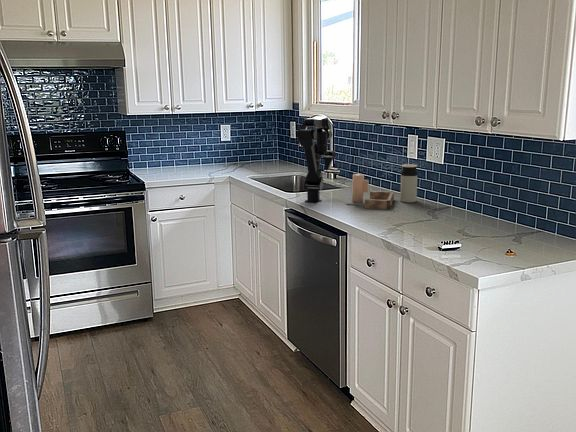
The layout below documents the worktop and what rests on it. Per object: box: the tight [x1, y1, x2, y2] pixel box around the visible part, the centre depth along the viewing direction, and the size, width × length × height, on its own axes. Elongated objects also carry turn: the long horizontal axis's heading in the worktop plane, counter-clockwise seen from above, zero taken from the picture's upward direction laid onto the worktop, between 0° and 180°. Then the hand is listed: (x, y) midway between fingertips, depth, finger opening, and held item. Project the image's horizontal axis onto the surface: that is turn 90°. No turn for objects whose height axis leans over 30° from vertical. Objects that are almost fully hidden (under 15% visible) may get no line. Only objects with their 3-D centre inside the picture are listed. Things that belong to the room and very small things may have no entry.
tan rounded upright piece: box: [351, 173, 370, 203], centre depth 279 cm, size 8×6×14 cm
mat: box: [346, 199, 365, 206], centre depth 280 cm, size 10×10×1 cm
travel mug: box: [399, 163, 419, 204], centre depth 280 cm, size 8×8×18 cm
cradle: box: [364, 190, 395, 210], centre depth 277 cm, size 12×23×4 cm, turn 165°
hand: (321, 171), depth 296 cm, fingers open, 9 cm apart
